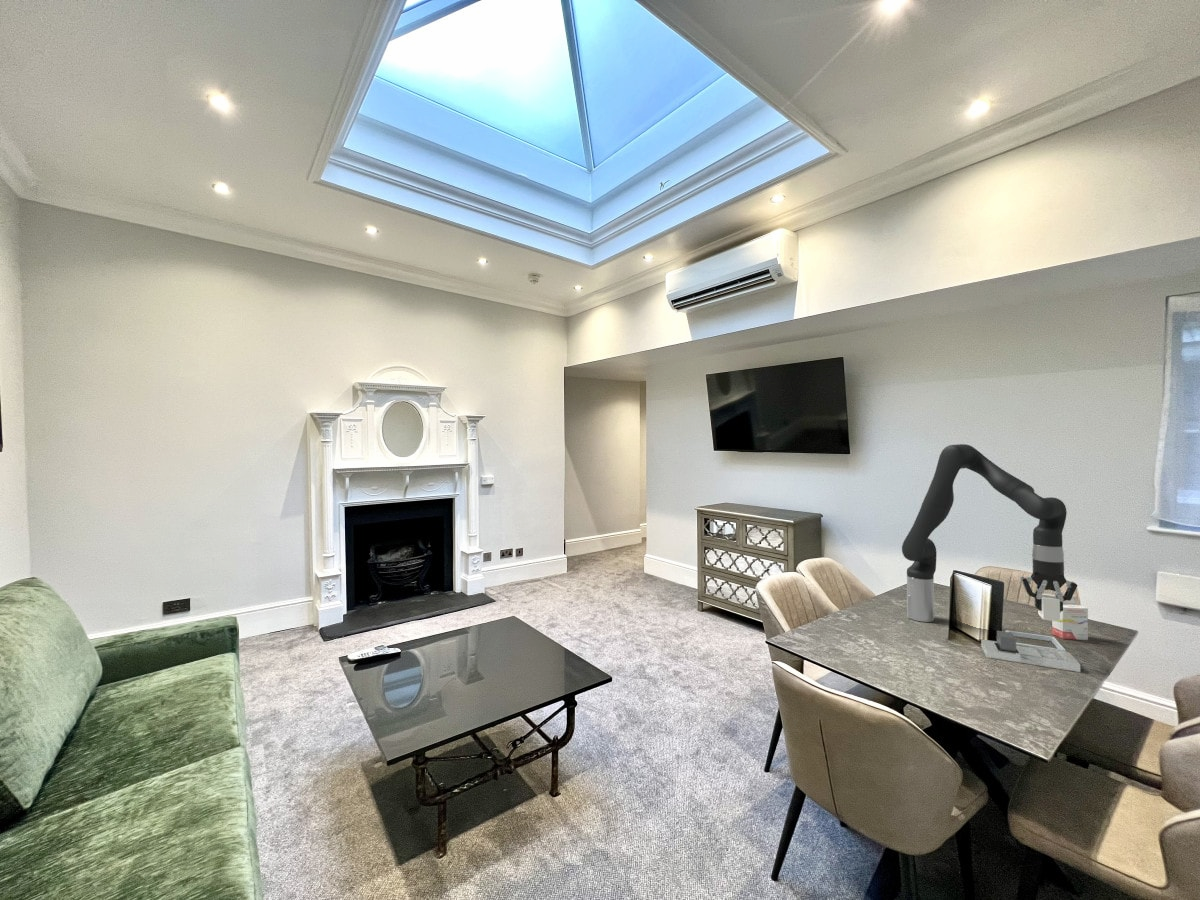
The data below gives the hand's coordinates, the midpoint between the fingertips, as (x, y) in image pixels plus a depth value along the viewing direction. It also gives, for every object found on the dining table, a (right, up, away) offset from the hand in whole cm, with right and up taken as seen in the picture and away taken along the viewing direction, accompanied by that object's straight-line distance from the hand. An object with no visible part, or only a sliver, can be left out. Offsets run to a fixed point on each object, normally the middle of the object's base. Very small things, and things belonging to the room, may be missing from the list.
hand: (1048, 610), depth 157 cm
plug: (0, -2, 0) cm, 2 cm away
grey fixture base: (-4, -17, +3) cm, 18 cm away
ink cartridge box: (+26, -17, +20) cm, 37 cm away
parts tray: (+8, -17, +14) cm, 23 cm away
